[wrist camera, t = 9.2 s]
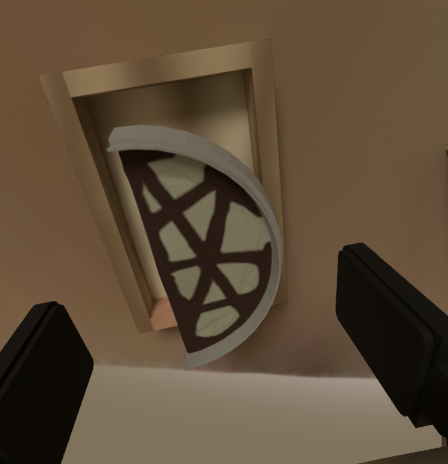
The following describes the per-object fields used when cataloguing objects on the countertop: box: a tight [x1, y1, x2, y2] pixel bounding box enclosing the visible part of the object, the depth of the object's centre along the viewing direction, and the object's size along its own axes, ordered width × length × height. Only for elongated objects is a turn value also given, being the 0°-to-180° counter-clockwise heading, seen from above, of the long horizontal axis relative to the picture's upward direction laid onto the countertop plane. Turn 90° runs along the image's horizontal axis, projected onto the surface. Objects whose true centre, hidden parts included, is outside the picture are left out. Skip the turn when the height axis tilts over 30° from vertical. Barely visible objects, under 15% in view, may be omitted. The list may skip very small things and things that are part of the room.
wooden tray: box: [39, 39, 288, 334], centre depth 20 cm, size 12×18×3 cm
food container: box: [107, 125, 283, 370], centre depth 16 cm, size 12×6×10 cm, turn 11°
